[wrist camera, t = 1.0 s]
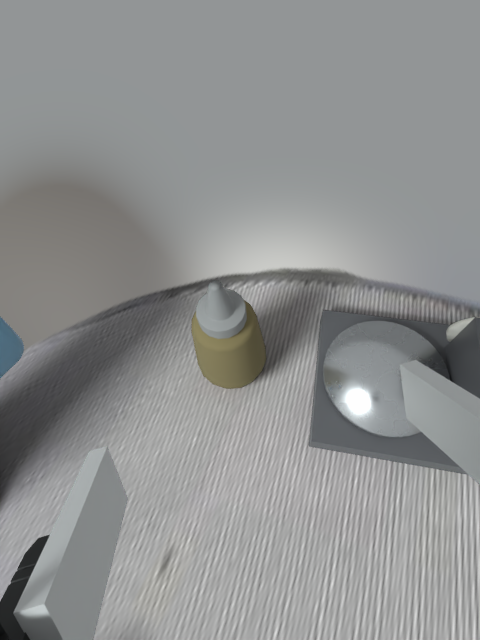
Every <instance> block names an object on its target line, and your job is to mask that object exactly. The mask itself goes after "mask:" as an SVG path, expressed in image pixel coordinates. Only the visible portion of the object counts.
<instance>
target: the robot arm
mask: <svg viewBox="0 0 480 640" xmlns="http://www.w3.org/2000/svg"><path fill="white" fill-rule="evenodd" d="M23 351H24V345H23V342H22V340H21V338H20V337H19V336H18V335H17V334H16V333H15V332H14V330H13V329H12V328H11V327H10V326H9V325H8V324H7V323H6V322H5V321H4V320H3V319H2V318H1V317H0V378H1V377H2V376H3V375H4V374H5V373H6V372H7V371H8V370H9V369H10V368H12V367H13V366H14V365H15V364H16V363H17V362H18V361H19V360H20V358H21V356H22V354H23ZM400 372H401V380H402V388H403V396H404V404H405V412H406V418H407V419H408V420H409V421H410V422H411V423H412V424H413V425H414V426H416V427H417V428H418V429H419V430H420V431H421V432H422V433H423V434H424V435H425V436H427V437H428V438H429V439H430V440H431V441H432V442H433V443H434V444H435V445H436V446H438V447H439V448H440V449H441V450H442V451H443V452H444V453H445V454H446V455H447V456H449V457H450V458H451V459H452V460H453V461H454V462H455V463H456V464H457V465H458V466H460V467H461V468H462V469H463V470H464V471H465V472H466V473H467V474H468V475H469V476H471V477H472V478H473V479H474V480H475V481H476V482H477V483H478V484H479V485H480V399H479V398H478V397H476V396H474V395H473V394H471V393H470V392H468V391H466V390H465V389H463V388H461V387H460V386H458V385H456V384H455V383H453V382H451V381H450V380H448V379H446V378H445V377H443V376H442V375H440V374H438V373H437V372H435V371H433V370H432V369H430V368H428V367H427V366H425V365H423V364H422V363H420V362H418V361H417V360H414V361H410V362H407V363H403V364H400ZM127 500H128V497H127V495H126V492H125V490H124V487H123V485H122V482H121V480H120V477H119V475H118V472H117V470H116V467H115V465H114V462H113V459H112V457H111V454H110V452H109V449H108V447H107V446H106V447H102V448H99V449H95V450H92V451H89V453H88V455H87V457H86V459H85V461H84V464H83V466H82V468H81V470H80V472H79V474H78V476H77V478H76V481H75V483H74V485H73V487H72V489H71V491H70V493H69V495H68V498H67V500H66V502H65V504H64V506H63V508H62V510H61V512H60V515H59V517H58V519H57V521H56V523H55V525H54V527H53V529H52V532H51V534H50V535H48V536H44V537H41V538H38V539H37V540H36V542H35V543H34V544H33V545H32V546H31V547H30V549H29V550H28V551H27V552H26V553H25V555H24V557H23V559H22V561H21V563H20V565H19V567H18V571H17V572H15V574H14V576H13V578H12V580H11V584H10V585H9V586H8V588H7V590H6V592H5V594H4V596H3V598H2V599H1V601H0V640H93V638H94V634H95V630H96V625H97V621H98V617H99V613H100V609H101V605H102V601H103V597H104V593H105V589H106V585H107V581H108V577H109V573H110V569H111V565H112V561H113V557H114V553H115V549H116V545H117V540H118V536H119V532H120V528H121V524H122V520H123V516H124V512H125V508H126V504H127Z"/></svg>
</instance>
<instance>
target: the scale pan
mask: <svg viewBox="0 0 480 640" xmlns="http://www.w3.org/2000/svg"><path fill="white" fill-rule="evenodd" d="M414 360H417V361H418V362H420V363H422V364H423V365H425V366H427V367H428V368H430V369H432V370H433V371H435V372H437V373H438V374H440V375H442V376H443V377H445V378H446V379H448V380H450V378H449V374H448V370H447V367H446V365H445V363H444V361H443V359H442V357H441V356H440V354H439V353H438V351H437V350H436V349H435V348H434V346H433V345H432V344H431V343H430V342H429V341H428V340H426V339H425V338H424V337H423V336H421V335H420V334H418V333H417V332H415V331H413V330H412V329H410V328H408V327H405V326H403V325H400V324H396V323H393V322H387V321H367V322H362V323H359V324H356V325H353V326H351V327H349V328H347V329H346V330H344V331H343V332H341V333H340V334H339V335H338V336H337V337H336V338H335V339H334V341H333V342H332V343H331V345H330V347H329V349H328V351H327V354H326V357H325V360H324V365H323V381H324V386H325V389H326V392H327V394H328V397H329V399H330V401H331V402H332V404H333V406H334V407H335V408H336V410H337V411H338V412H339V413H340V414H341V415H342V416H343V417H344V418H345V419H346V420H347V421H348V422H350V423H351V424H352V425H354V426H355V427H357V428H359V429H361V430H363V431H365V432H367V433H370V434H372V435H375V436H380V437H385V438H403V437H409V436H412V435H415V434H418V433H420V432H421V431H420V430H419V429H418V428H417V427H416V426H414V425H413V424H412V423H411V422H410V421H409V420H408V419H407V418H406V412H405V404H404V396H403V388H402V380H401V372H400V364H403V363H407V362H410V361H414Z"/></svg>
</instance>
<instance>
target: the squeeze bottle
mask: <svg viewBox="0 0 480 640" xmlns="http://www.w3.org/2000/svg"><path fill="white" fill-rule="evenodd" d="M192 336H193V341H194V346H195V351H196V355H197V360H198V365H199V367H200V369H201V371H202V374H203V376H204V377H206V378H207V379H208V380H209V381H210V382H211V383H212V384H214V385H217V386H220V387H223V388H228V389H232V388H241V387H243V386H245V385H247V384H249V383H251V382H253V381H254V380H255V378H256V377H257V376H258V375H259V374H260V373H261V372H262V370H263V367H264V364H265V361H266V351H265V344H264V341H263V337H262V334H261V330H260V327H259V323H258V320H257V316H256V314H255V312H254V310H253V308H252V307H251V305H250V304H249V303H247V302H246V301H245V300H243V298H242V297H241V295H239V294H238V293H237V292H235V291H233V290H230V289H226V288H224V287H223V285H222V284H221V282H219V281H212V282H211V283H209V285H208V293H206V294H205V295H204V296H203V297H202V298H201V299H200V300H199V302H198V304H197V306H196V312H195V314H194V316H193V318H192Z"/></svg>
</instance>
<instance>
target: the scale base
mask: <svg viewBox="0 0 480 640" xmlns="http://www.w3.org/2000/svg"><path fill="white" fill-rule="evenodd" d="M367 321H387V322H393V323H396V324H400V325H403V326H405V327H408V328H410V329H412V330H413V331H415V332H417V333H418V334H420V335H421V336H423V337H424V338H425V339H426V340H428V341H429V342H430V343H431V344H432V345H433V346H434V348H435V349H436V350H437V351H438V353H439V354H440V356H441V357H442V359H443V361H444V363H445V365H446V367H447V370H448V374H449V378H450V381H451V382H453V383H455V384H456V385H458V386H460V387H461V388H463V389H465V390H466V391H468V392H470V393H471V394H473V395H474V396H476V397H478V398H479V399H480V317H472V318H467V319H463V320H460V321H457V322H455V323H453V324H452V325H447V324H438V323H430V322H421V321H413V320H405V319H396V318H388V317H379V316H371V315H363V314H354V313H346V312H337V311H329V310H323V313H322V317H321V321H320V331H319V341H318V352H317V363H316V374H315V384H314V395H313V406H312V417H311V428H310V438H309V446H310V447H315V448H321V449H327V450H332V451H338V452H344V453H349V454H355V455H361V456H366V457H372V458H377V459H383V460H389V461H394V462H400V463H406V464H411V465H417V466H423V467H428V468H434V469H439V470H445V471H451V472H456V473H462V474H467V473H466V472H465V471H464V470H463V469H462V468H461V467H460V466H458V465H457V464H456V463H455V462H454V461H453V460H452V459H451V458H450V457H449V456H447V455H446V454H445V453H444V452H443V451H442V450H441V449H440V448H439V447H438V446H436V445H435V444H434V443H433V442H432V441H431V440H430V439H429V438H428V437H427V436H425V435H424V434H423V433H422V432H420V433H418V434H415V435H412V436H409V437H403V438H385V437H380V436H375V435H372V434H370V433H367V432H365V431H363V430H361V429H359V428H357V427H355V426H354V425H352V424H351V423H350V422H348V421H347V420H346V419H345V418H344V417H343V416H342V415H341V414H340V413H339V412H338V411H337V410H336V408H335V407H334V406H333V404H332V402H331V401H330V399H329V397H328V394H327V392H326V389H325V386H324V381H323V365H324V360H325V357H326V354H327V351H328V349H329V347H330V345H331V343H332V342H333V341H334V339H335V338H336V337H337V336H338V335H339V334H340V333H341V332H343V331H344V330H346V329H347V328H349V327H351V326H353V325H356V324H359V323H362V322H367Z"/></svg>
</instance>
